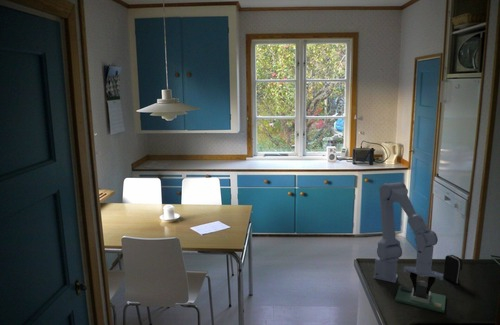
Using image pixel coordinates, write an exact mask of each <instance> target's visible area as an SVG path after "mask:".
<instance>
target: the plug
mask: <svg viewBox="0 0 500 325" xmlns="http://www.w3.org/2000/svg"><path fill="white" fill-rule="evenodd" d="M427 287H428V281H424V280H418V279H417V283H416V292H415V296H417V297H421V298H426V295H427V294H426V292H427Z"/></svg>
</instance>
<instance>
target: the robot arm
mask: <svg viewBox="0 0 500 325" xmlns="http://www.w3.org/2000/svg"><path fill="white" fill-rule="evenodd" d="M378 190H379V204H380V218H381V233H382V238H381V239H380V240H379V241H378V243H377V248H376V255H377V256H376V257H375V260H374V269H373V271H374V272H373V279H375V280H381V281H385V282H390V283H394V284H396V282H397V279H398V277H399V275H398V274H397V270H398V261H399V260H400V258H401V257H402V256H403V248H402V246H401V241H400V240H398V239H397V238H396V228H395V227H396V226H395V215H394V214H395V212H394V211H395V210H394V203H395V202H396V203H398V204H399V205H400V207H401V208H402V210H403V211H404V213H405V214H406V216H407V218H408V220H407V224H408V225H409V227H410V228H411V230H412V232H413V233H414V235H415V236H414V242H415V244H416V247H415V248H416V259H415V260H416V261H415V266H406V265H405V266H403V270H402V272H403V273H409V278H410V280H411V283H412V286H413V287H412V288H414V291H415V292H416V283H417V280H418V276H419V277H422V278H424V277H427V278H428V279H427V283H428V286H427V292H426V294H428V293H429V291H430V290H431V288H432V286H433V285H434V284H435V282H436V280H437V279H438V280H439V281H443V280H444V273H441V272H438V271H434V270H432V264H433V255H434V246H436V245H437V244H438V241H439V240H438V235H437V233H436V232H435V231H433V230H432V229H431V228H429V227H428V224H426V222H425V220H424V218H423V216H422V215H420V214H418V213H417V212H416V210H415V208H414V205H413V203H412V202H411V199H410V198H409V196H408V194H409V189H408V188H407V186H406V184H405V182H403V181H399V182H391V183H383V184H381V185H380V187H379V188H378Z"/></svg>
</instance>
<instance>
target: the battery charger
mask: <svg viewBox="0 0 500 325" xmlns="http://www.w3.org/2000/svg"><path fill="white" fill-rule="evenodd" d="M463 265H464V264H463V259H462V258H460V257H458V256H456V255H454V254H448V255H446V256H445V257H444V266H443V267H444V269H443V279H445V280H446V281H447V280H448V281H449V282H451V283H452V284H459V283H460V273H461V271H462V270H463Z"/></svg>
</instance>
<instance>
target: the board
mask: <svg viewBox="0 0 500 325" xmlns="http://www.w3.org/2000/svg"><path fill="white" fill-rule="evenodd" d="M446 297H447V296H446V295H444V294H439V293H434V292H432V291H430V290H429V293H428V294H427V295H426V298H421V297H417V296H415V291H414V287H410V286H409V287H408V286H405V285H399V286H398V289H397V291H396V296H395V298H394V300H395V302H398V303H402V304H405V305H410V306H411V305H412V306H414V307H418V308H424V309H427V310H432V311H435V312H439V313H443V314H444V313H445V310H446V309H445V308H446Z"/></svg>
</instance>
